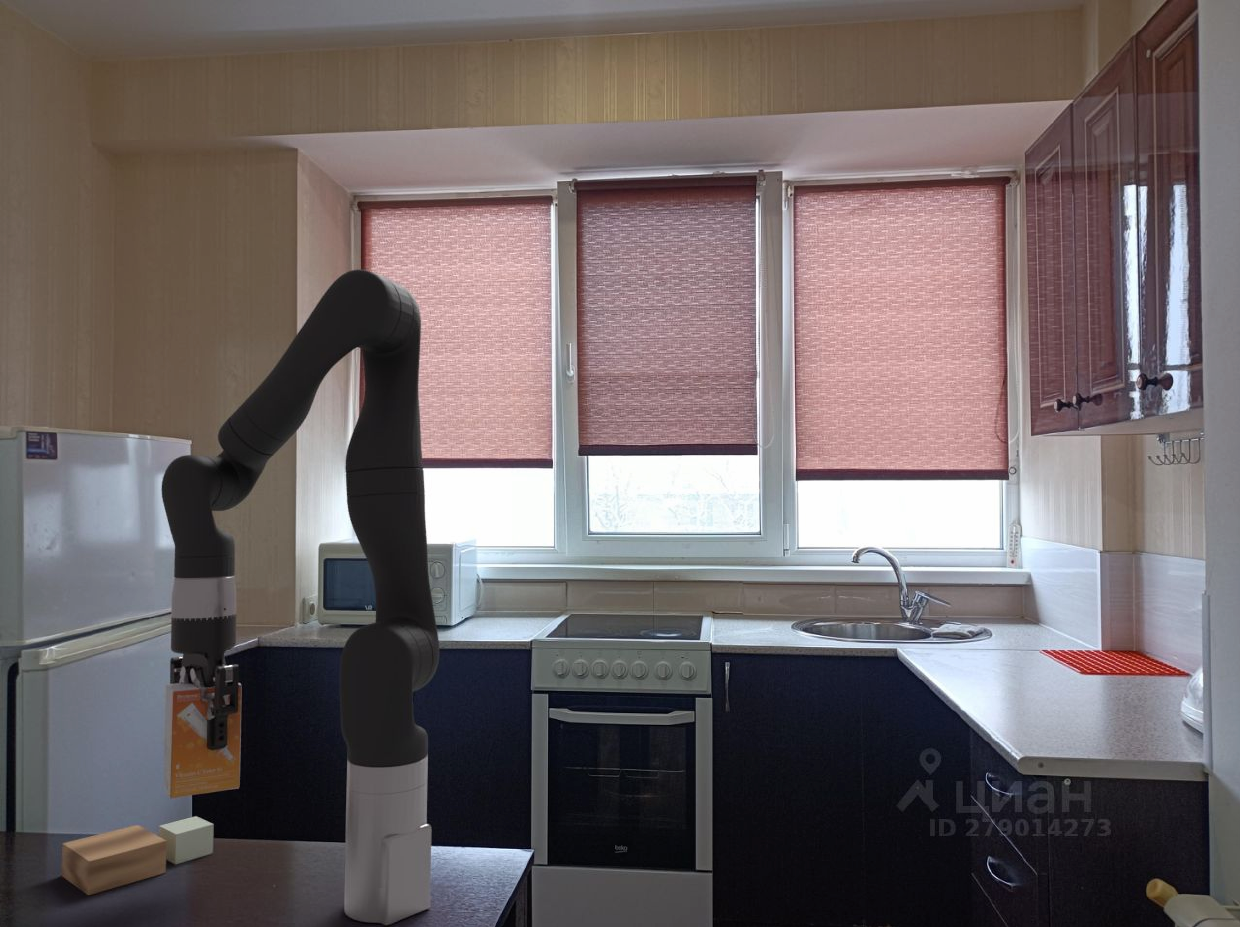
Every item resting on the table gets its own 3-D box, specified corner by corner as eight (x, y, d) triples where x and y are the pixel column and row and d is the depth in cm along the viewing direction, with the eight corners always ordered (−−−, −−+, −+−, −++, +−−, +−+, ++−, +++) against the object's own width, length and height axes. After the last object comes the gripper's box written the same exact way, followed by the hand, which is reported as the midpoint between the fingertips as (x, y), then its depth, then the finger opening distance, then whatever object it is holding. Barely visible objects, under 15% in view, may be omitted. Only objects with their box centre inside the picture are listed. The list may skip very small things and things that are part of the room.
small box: (169, 800, 107) (171, 690, 108) (162, 787, 113) (164, 683, 114) (241, 788, 112) (242, 683, 113) (231, 776, 117) (233, 676, 118)
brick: (212, 854, 121) (213, 824, 121) (175, 865, 117) (176, 834, 117) (195, 845, 124) (196, 816, 124) (158, 856, 120) (159, 825, 120)
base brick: (165, 872, 114) (166, 840, 114) (88, 895, 107) (89, 861, 108) (136, 855, 120) (137, 824, 120) (61, 875, 113) (62, 843, 113)
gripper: (260, 613, 112) (259, 747, 111) (207, 607, 121) (205, 730, 120) (200, 618, 106) (198, 760, 105) (149, 612, 115) (147, 741, 114)
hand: (202, 744), depth 113 cm, fingers closed on small box, 7 cm apart
